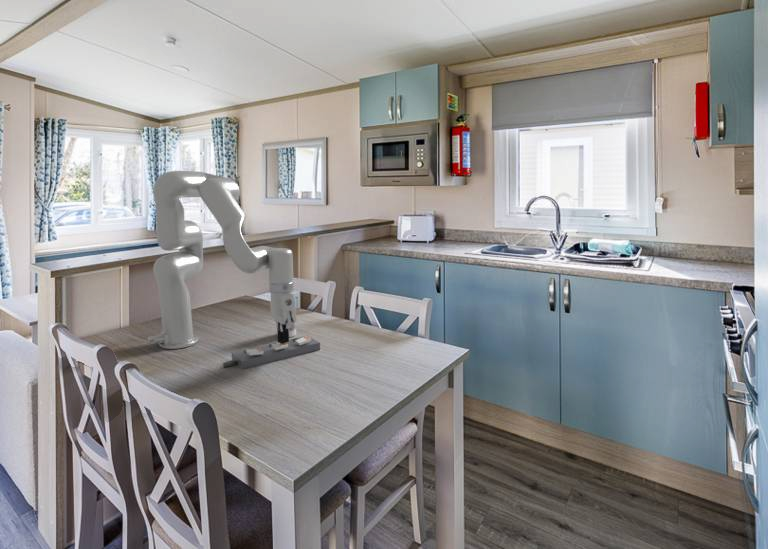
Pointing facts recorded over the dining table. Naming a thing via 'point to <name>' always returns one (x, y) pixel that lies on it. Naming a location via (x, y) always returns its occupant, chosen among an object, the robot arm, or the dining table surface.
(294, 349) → the power strip
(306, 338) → the rocker right
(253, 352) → the rocker left
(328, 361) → the dining table surface
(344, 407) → the dining table surface
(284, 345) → the rocker middle
